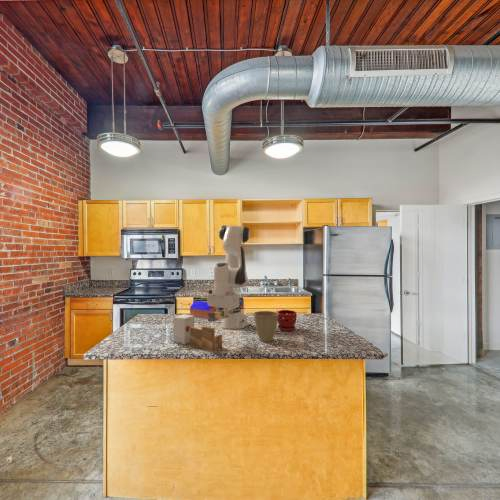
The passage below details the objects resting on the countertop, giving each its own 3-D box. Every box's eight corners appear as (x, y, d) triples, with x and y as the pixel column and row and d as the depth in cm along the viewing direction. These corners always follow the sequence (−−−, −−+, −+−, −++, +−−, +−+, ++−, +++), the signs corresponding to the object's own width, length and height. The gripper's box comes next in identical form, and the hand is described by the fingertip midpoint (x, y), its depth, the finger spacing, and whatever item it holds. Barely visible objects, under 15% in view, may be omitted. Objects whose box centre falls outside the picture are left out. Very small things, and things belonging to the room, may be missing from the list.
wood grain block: (200, 341, 173) (200, 321, 173) (222, 347, 162) (222, 325, 162) (189, 345, 166) (189, 324, 166) (211, 351, 155) (211, 328, 156)
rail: (228, 315, 175) (228, 307, 175) (233, 316, 173) (233, 308, 173) (208, 320, 161) (208, 312, 161) (212, 321, 159) (212, 313, 159)
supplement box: (184, 344, 167) (184, 318, 167) (172, 342, 172) (172, 316, 172) (194, 340, 175) (194, 315, 175) (183, 338, 180) (183, 313, 180)
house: (208, 318, 231) (208, 304, 232) (189, 316, 242) (189, 302, 242) (217, 315, 242) (217, 301, 242) (199, 313, 252) (198, 299, 252)
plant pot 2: (274, 330, 196) (274, 312, 196) (281, 326, 207) (281, 309, 207) (292, 332, 190) (292, 314, 190) (299, 328, 201) (299, 310, 201)
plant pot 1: (271, 345, 165) (271, 317, 165) (249, 341, 173) (249, 314, 173) (282, 338, 178) (282, 312, 178) (261, 335, 185) (261, 309, 185)
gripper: (239, 292, 164) (239, 316, 164) (212, 289, 176) (213, 312, 176) (231, 293, 159) (231, 318, 159) (205, 290, 171) (205, 314, 171)
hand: (221, 315), depth 167 cm, fingers closed on rail, 3 cm apart
